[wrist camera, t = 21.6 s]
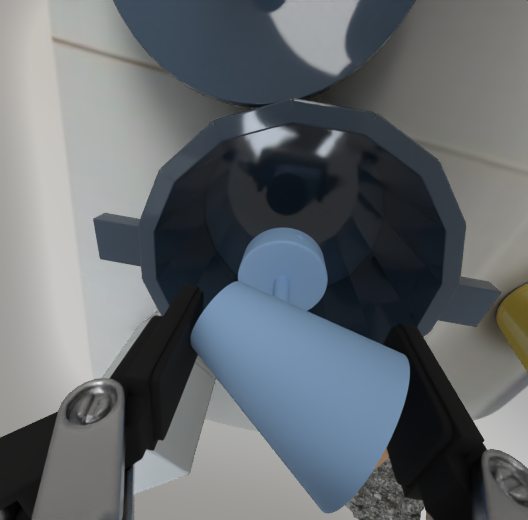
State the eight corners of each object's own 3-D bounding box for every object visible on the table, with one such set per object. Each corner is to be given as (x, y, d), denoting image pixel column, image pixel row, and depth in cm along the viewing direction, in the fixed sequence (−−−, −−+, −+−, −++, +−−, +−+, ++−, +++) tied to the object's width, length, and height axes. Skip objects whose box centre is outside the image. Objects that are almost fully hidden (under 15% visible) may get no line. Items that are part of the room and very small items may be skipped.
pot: (162, 83, 18) (50, 55, 10) (469, 137, 18) (624, 155, 9) (167, 275, 26) (108, 351, 17) (383, 314, 25) (427, 410, 17)
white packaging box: (136, 325, 29) (41, 453, 18) (180, 293, 26) (100, 421, 15) (185, 364, 32) (127, 499, 21) (230, 339, 29) (191, 478, 18)
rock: (428, 417, 28) (444, 414, 35) (319, 405, 36) (349, 405, 42) (458, 592, 23) (470, 548, 29) (321, 534, 30) (356, 509, 37)
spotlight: (369, 253, 14) (246, 205, 13) (503, 489, 5) (155, 378, 4) (326, 320, 16) (219, 281, 16) (366, 559, 7) (126, 492, 7)
